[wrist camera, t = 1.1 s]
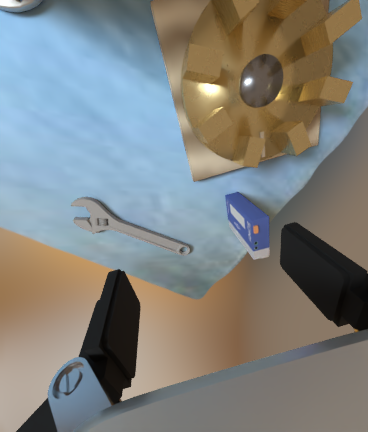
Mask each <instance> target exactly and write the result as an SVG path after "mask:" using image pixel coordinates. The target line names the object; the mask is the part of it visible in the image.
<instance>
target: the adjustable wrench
mask: <svg viewBox="0 0 368 432" xmlns="http://www.w3.org/2000/svg"><path fill="white" fill-rule="evenodd" d="M71 206H82V207H86V209H87V210H88V211H89V212H90V216H91V217H90V219H89V218H88V217H75V218H74V220H73V221H74V223H75V224H76V225H77V226H79V227H80V228H82V229H85V230H87V231H91V232H92V233H93V234H94V233H99V232H100V231H102V230H114V231H117V232H120V233H123V234H126V235H128V236H131V237H134V238H136V239H139V240H142V241H144V242H147V243H150V244H153V245H155V246H158V247H161V248H163V249H166V250H169V251H171V252H174V253H177V254H180V255H183V256H184V255H187V254H188V253H189V252H190V248H189V246H188V245H187V244H185V243H183V242H180V241H177V240H175V239H172V238H169V237H166V236H164V235H161V234H158V233H155V232H153V231H150V230H147V229H145V228H142V227H139V226H136V225H134V224H131V223H128V222H126V221H123V220H120V219H118V218H117V217H115V216H114V215H113V214H111V213H110V212H109V211H108V210H107V209H106V208H105V207H104V206H103V205H102V204H101V203H100V202H99V201H97V200H96V199H94V198H90V197H81V198H78V199H76V200H75V201H74V202H73V203H72V204H71ZM182 247H187V250H186V251H184V252H182V251H180V249H181V248H182Z"/></svg>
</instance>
